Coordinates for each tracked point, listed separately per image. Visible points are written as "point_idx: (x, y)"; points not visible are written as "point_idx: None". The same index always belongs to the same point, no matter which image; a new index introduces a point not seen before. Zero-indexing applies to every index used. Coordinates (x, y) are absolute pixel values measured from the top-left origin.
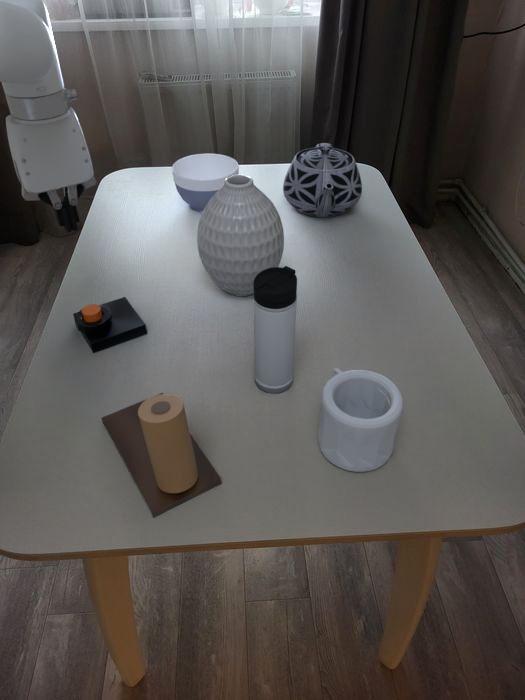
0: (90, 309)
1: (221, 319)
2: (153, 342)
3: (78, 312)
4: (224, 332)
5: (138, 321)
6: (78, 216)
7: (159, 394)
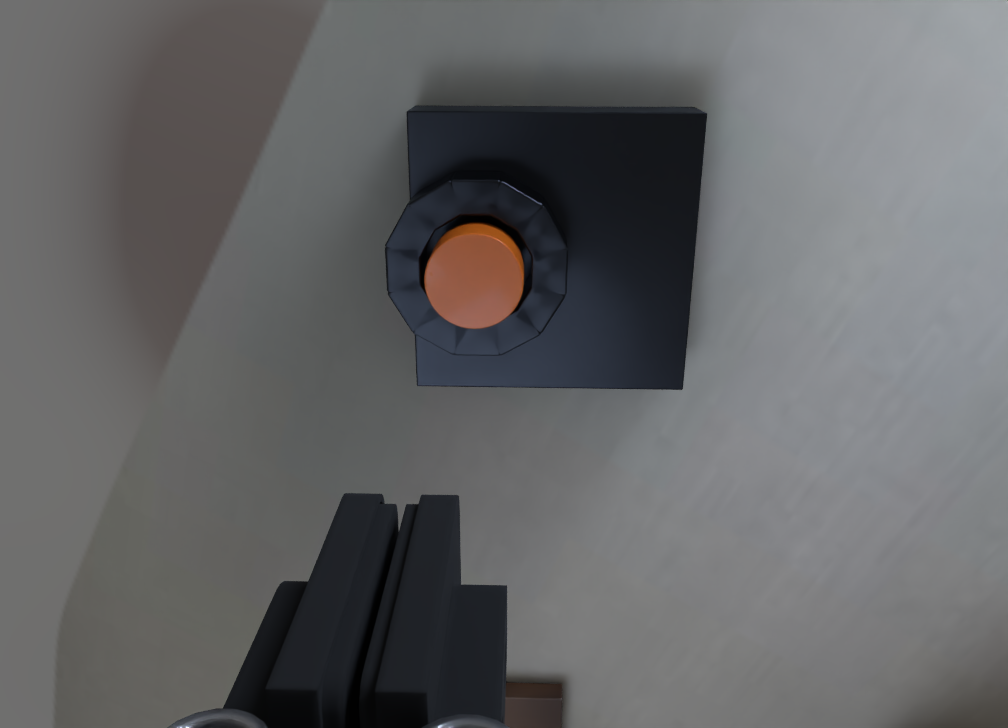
0: (471, 281)
1: (995, 444)
2: (668, 428)
3: (419, 205)
4: (944, 521)
5: (665, 353)
6: (504, 718)
7: (549, 701)
